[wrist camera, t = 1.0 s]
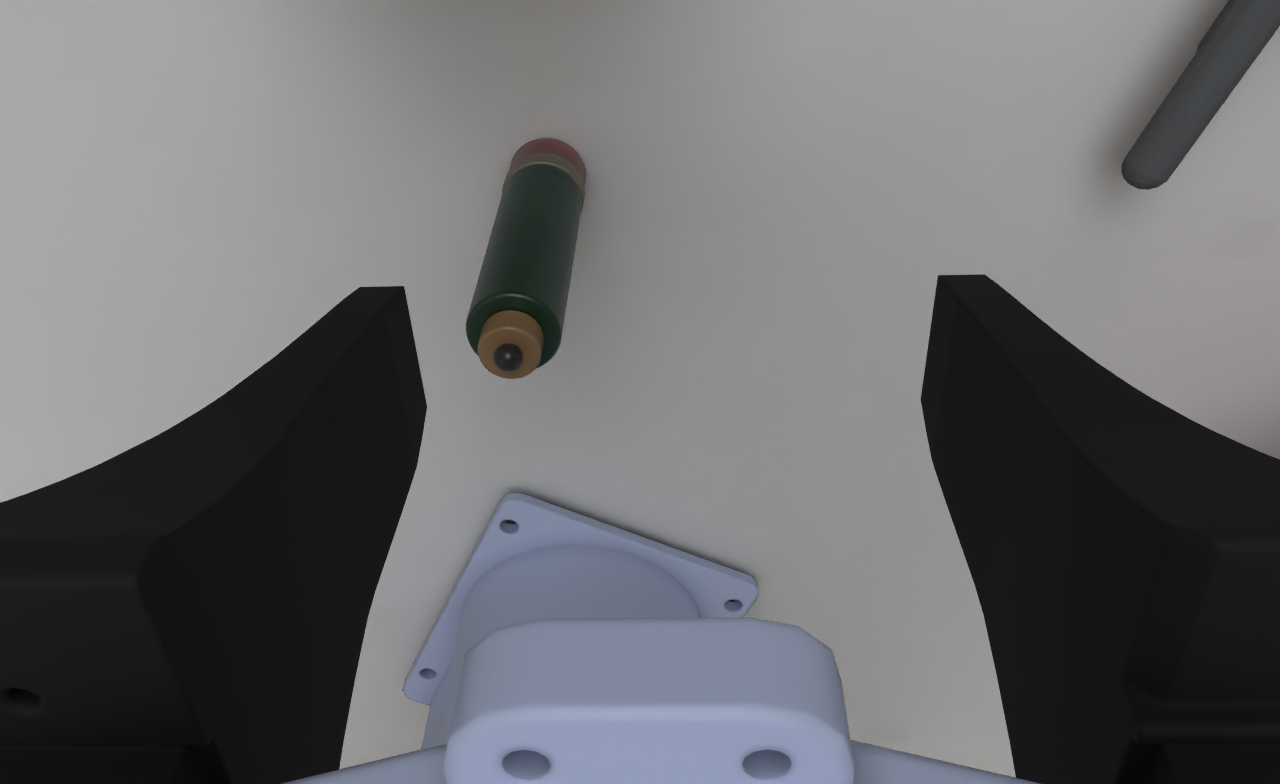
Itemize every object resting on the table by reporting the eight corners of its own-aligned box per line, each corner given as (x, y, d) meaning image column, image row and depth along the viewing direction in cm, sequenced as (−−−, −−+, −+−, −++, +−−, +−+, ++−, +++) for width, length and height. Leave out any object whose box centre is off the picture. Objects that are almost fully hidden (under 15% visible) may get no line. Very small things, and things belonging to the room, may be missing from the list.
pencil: (568, 220, 25) (535, 420, 19) (497, 189, 25) (440, 385, 19) (599, 156, 24) (574, 346, 18) (526, 123, 24) (475, 306, 18)
